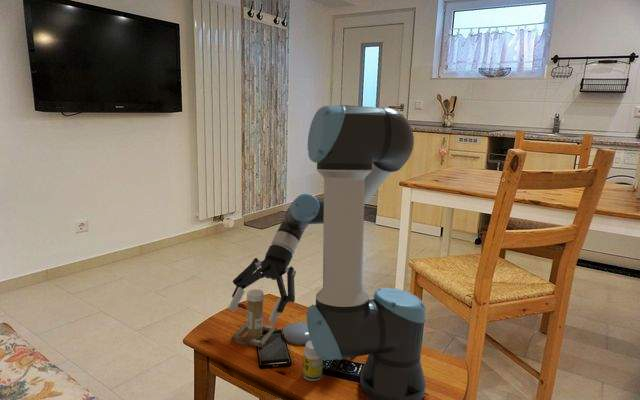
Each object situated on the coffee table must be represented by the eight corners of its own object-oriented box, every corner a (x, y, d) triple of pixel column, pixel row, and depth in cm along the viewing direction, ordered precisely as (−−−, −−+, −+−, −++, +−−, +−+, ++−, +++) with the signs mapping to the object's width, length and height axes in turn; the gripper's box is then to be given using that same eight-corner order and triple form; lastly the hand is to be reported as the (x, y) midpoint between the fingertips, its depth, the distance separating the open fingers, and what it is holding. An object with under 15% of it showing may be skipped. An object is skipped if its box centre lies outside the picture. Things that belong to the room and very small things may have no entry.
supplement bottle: (300, 371, 104) (301, 340, 102) (318, 368, 105) (320, 337, 103) (305, 383, 99) (307, 350, 97) (324, 380, 101) (326, 348, 99)
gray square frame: (276, 331, 122) (276, 327, 121) (262, 348, 113) (262, 343, 112) (247, 325, 124) (247, 321, 124) (231, 341, 115) (231, 336, 115)
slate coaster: (325, 329, 124) (325, 326, 124) (313, 348, 114) (313, 344, 114) (291, 322, 127) (291, 319, 127) (276, 340, 117) (276, 336, 117)
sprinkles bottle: (262, 340, 117) (263, 295, 114) (246, 341, 116) (246, 295, 113) (262, 332, 121) (263, 288, 118) (246, 332, 120) (247, 288, 118)
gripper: (322, 264, 123) (294, 333, 113) (253, 248, 134) (222, 309, 124) (314, 251, 117) (284, 323, 107) (243, 236, 128) (209, 299, 118)
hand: (250, 316), depth 116 cm, fingers open, 13 cm apart
